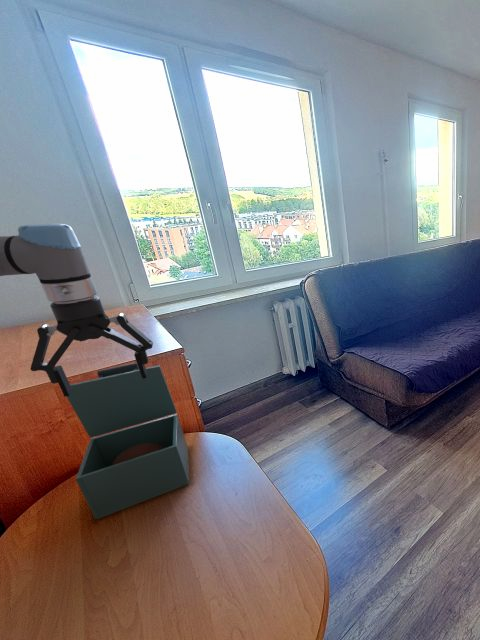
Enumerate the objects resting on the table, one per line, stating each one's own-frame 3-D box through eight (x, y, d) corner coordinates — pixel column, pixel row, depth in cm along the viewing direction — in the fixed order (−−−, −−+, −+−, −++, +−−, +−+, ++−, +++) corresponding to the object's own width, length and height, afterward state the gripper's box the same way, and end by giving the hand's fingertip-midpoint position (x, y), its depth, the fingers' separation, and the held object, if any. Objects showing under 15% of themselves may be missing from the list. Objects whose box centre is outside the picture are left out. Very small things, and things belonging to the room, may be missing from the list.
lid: (159, 366, 88) (159, 351, 93) (61, 388, 78) (67, 370, 83) (176, 413, 96) (175, 397, 102) (89, 438, 87) (93, 419, 92)
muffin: (178, 458, 96) (168, 430, 93) (167, 487, 87) (156, 458, 83) (127, 471, 92) (115, 442, 89) (110, 503, 83) (95, 472, 79)
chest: (189, 483, 89) (176, 446, 85) (95, 519, 79) (75, 479, 75) (188, 448, 102) (177, 413, 97) (107, 475, 92) (90, 438, 87)
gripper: (-24, 315, 61) (25, 410, 69) (147, 293, 75) (172, 375, 82) (-6, 304, 67) (37, 393, 75) (149, 286, 80) (173, 363, 88)
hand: (108, 384), depth 79 cm, fingers open, 13 cm apart
